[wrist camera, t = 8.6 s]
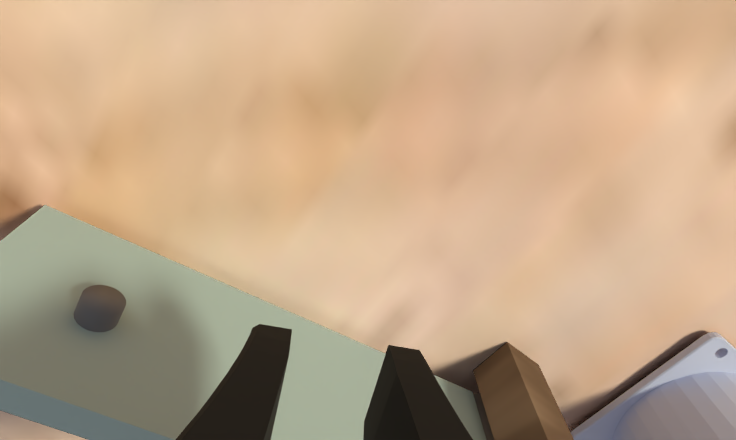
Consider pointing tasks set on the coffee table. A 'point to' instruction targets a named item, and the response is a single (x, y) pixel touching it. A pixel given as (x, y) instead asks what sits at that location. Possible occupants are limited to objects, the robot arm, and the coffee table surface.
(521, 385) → the door frame
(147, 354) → the door
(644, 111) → the coffee table surface
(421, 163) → the coffee table surface
